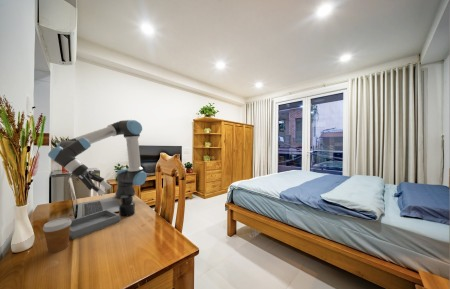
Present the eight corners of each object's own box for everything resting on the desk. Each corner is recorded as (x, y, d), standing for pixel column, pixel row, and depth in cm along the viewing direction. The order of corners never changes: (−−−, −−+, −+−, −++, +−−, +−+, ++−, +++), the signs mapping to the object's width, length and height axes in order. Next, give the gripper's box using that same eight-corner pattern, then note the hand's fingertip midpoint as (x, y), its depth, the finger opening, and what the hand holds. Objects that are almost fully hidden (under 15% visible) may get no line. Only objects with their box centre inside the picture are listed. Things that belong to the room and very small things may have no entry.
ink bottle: (138, 211, 118) (137, 194, 118) (129, 217, 110) (129, 198, 109) (124, 211, 119) (124, 193, 119) (115, 216, 110) (114, 198, 110)
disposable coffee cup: (37, 253, 76) (36, 225, 75) (63, 240, 85) (62, 216, 84) (52, 257, 73) (51, 228, 72) (77, 244, 82) (76, 218, 81)
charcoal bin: (107, 215, 112) (106, 209, 112) (119, 221, 104) (119, 215, 104) (61, 230, 94) (61, 223, 94) (72, 239, 85) (72, 231, 85)
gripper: (80, 169, 115) (107, 190, 121) (60, 177, 92) (94, 202, 97) (90, 161, 117) (116, 181, 122) (72, 166, 93) (106, 191, 99)
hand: (106, 190), depth 110 cm, fingers open, 13 cm apart
